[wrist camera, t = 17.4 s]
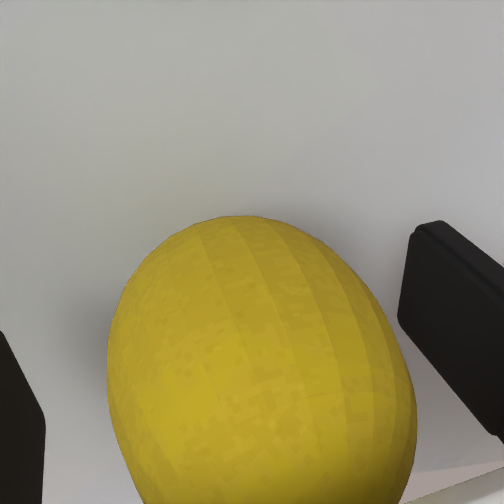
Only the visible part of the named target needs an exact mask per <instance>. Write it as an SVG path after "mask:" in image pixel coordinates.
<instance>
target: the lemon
mask: <svg viewBox="0 0 504 504" xmlns="http://www.w3.org/2000/svg"><path fill="white" fill-rule="evenodd" d="M107 397H108V404H109V412H110V416H111V420H112V424H113V429H114V432H115V435H116V438H117V441H118V444H119V447H120V450H121V452H122V455H123V457H124V460H125V462H126V465H127V467H128V469H129V472H130V474H131V477H132V479H133V482H134V484H135V487H136V489H137V491H138V493H139V495H140V497H141V499H142V501H143V503H144V504H398V503H399V501H400V499H401V497H402V495H403V492H404V490H405V487H406V485H407V482H408V479H409V476H410V473H411V470H412V466H413V463H414V456H415V450H416V442H417V404H416V399H415V393H414V388H413V384H412V381H411V378H410V375H409V371H408V368H407V365H406V363H405V360H404V358H403V355H402V353H401V350H400V347H399V345H398V342H397V340H396V337H395V335H394V333H393V330H392V328H391V326H390V324H389V322H388V320H387V318H386V315H385V313H384V312H383V310H382V308H381V306H380V305H379V303H378V301H377V300H376V298H375V297H374V295H373V294H372V292H371V291H370V290H369V288H368V287H367V286H366V284H365V283H364V282H363V281H362V280H361V279H360V278H359V276H358V275H357V274H356V273H355V272H354V271H353V270H352V269H351V268H350V267H349V266H348V265H347V264H346V263H345V262H344V261H343V260H342V259H341V258H340V257H339V256H338V255H337V254H336V253H335V252H334V251H333V250H332V249H331V248H329V247H328V246H327V245H325V244H324V243H322V242H321V241H320V240H318V239H316V238H314V237H312V236H310V235H309V234H307V233H305V232H303V231H301V230H299V229H297V228H295V227H293V226H291V225H289V224H287V223H283V222H280V221H276V220H271V219H266V218H262V217H257V216H229V217H219V218H215V219H211V220H208V221H204V222H200V223H196V224H194V225H192V226H190V227H188V228H186V229H184V230H182V231H180V232H178V233H176V234H174V235H172V236H170V237H169V238H168V239H167V240H166V241H164V242H163V243H162V244H161V245H160V246H158V247H157V248H156V249H155V250H154V251H152V252H151V253H150V254H149V255H148V256H147V257H146V258H145V259H144V260H143V262H142V263H141V265H140V266H139V267H138V269H137V270H136V271H135V273H134V274H133V275H132V277H131V278H130V280H129V281H128V283H127V285H126V286H125V288H124V290H123V293H122V296H121V298H120V301H119V304H118V306H117V309H116V312H115V314H114V317H113V320H112V323H111V327H110V332H109V337H108V350H107Z"/></svg>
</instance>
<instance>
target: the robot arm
mask: <svg viewBox="0 0 504 504" xmlns="http://www.w3.org/2000/svg"><path fill="white" fill-rule="evenodd" d="M397 318H398V322H399V324H400V326H401V328H402V329H403V330H404V332H405V333H406V334H407V335H408V336H409V338H410V339H411V340H412V341H413V343H414V344H415V345H416V346H417V347H418V349H419V350H420V351H421V352H422V353H423V355H424V356H425V357H426V358H427V359H428V361H429V362H430V363H431V364H432V365H433V367H434V368H435V369H436V370H437V372H438V373H439V374H440V375H441V376H442V378H443V379H444V380H445V381H446V382H447V384H448V385H449V386H450V387H451V388H452V390H453V391H454V392H455V393H456V394H457V396H458V397H459V398H460V399H461V401H462V402H463V403H464V404H465V405H466V407H467V408H468V409H469V410H470V411H471V413H472V414H473V415H474V416H475V417H476V419H477V420H478V421H479V422H480V423H481V425H482V426H483V427H484V428H485V429H486V431H487V432H488V433H490V434H491V435H494V436H496V435H497V437H498V438H499V439H500V440H501V441H502V443H503V444H504V267H502V266H501V265H500V264H499V263H497V262H496V261H495V260H493V259H492V258H491V257H490V256H488V255H487V254H486V253H484V252H483V251H482V250H481V249H479V248H478V247H477V246H475V245H474V244H473V243H472V242H470V241H469V240H468V239H466V238H465V237H464V236H463V235H461V234H460V233H459V232H458V231H456V230H455V229H454V228H452V227H451V226H450V225H449V224H447V223H446V222H444V221H441V220H438V221H434V222H430V223H426V224H421V225H419V226H417V227H416V229H415V231H414V232H413V233H412V234H411V235H410V238H409V244H408V250H407V256H406V262H405V269H404V275H403V281H402V287H401V293H400V299H399V306H398V312H397ZM45 434H46V424H45V418H44V414H43V412H42V409H41V407H40V405H39V403H38V401H37V399H36V397H35V395H34V394H33V392H32V390H31V388H30V386H29V384H28V382H27V380H26V378H25V376H24V374H23V372H22V370H21V368H20V366H19V364H18V362H17V360H16V358H15V356H14V354H13V352H12V350H11V348H10V346H9V344H8V342H7V340H6V338H5V336H4V334H3V333H2V332H1V331H0V504H42V488H43V470H44V452H45ZM405 504H504V467H502V468H500V469H497V470H494V471H492V472H489V473H486V474H484V475H481V476H478V477H476V478H473V479H470V480H467V481H464V482H462V483H459V484H456V485H454V486H451V487H448V488H445V489H443V490H440V491H438V492H435V493H432V494H429V495H426V496H424V497H421V498H418V499H416V500H413V501H410V502H408V503H405Z"/></svg>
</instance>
